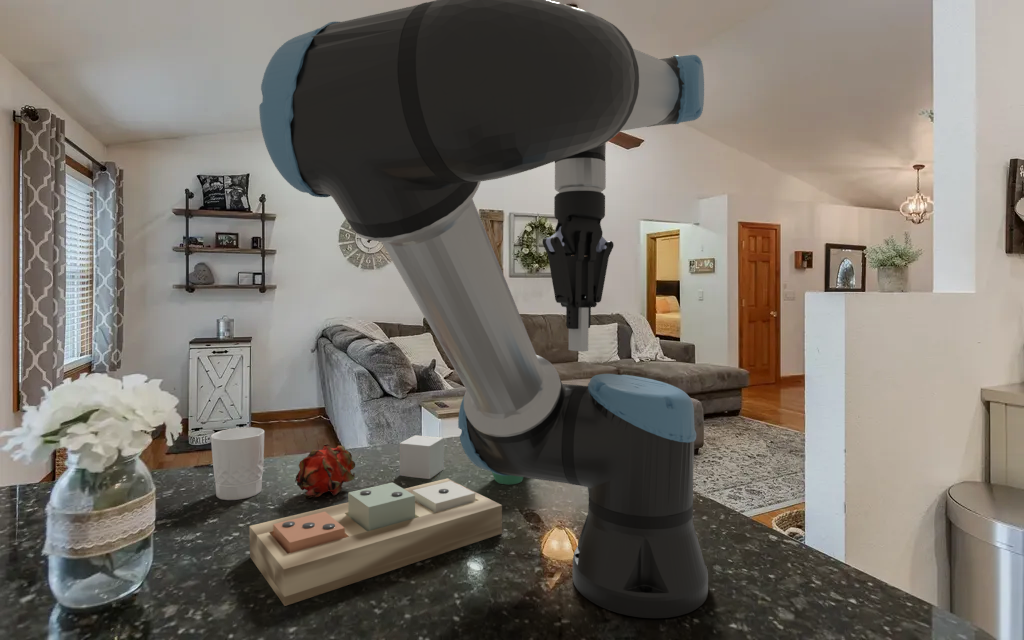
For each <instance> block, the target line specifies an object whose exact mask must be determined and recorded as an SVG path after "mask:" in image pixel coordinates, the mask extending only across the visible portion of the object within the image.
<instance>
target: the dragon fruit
mask: <svg viewBox="0 0 1024 640" xmlns="http://www.w3.org/2000/svg"><path fill="white" fill-rule="evenodd" d="M352 457H353V454H352V453H351V452H350V451H348V450H347V449H346V448H345V446H344V445H337V447H335V448H334V447H330V445H329V444H328V443H324V444H323V448H322V449H312V450H311V451H310V453H309V454H308V455H307V456H306V457H304V458H302V459H301V461H299V463H298V468H299V471H298V472H297V474H296V475H295V481H294V482H295V483H296V485H297V486H298V487H299V488H300V490H301V491H304V490H305V491H306V492H305V495H304V499H309V498H319V497H321V496H322V495H323V494H324V493H327V492H330V493H331V494H332V496H334V497H335V496H337V495H338V493H340V492H341V491H342V490H343V484H344V483H350V482H351V481H353V480H355V476H356V475H355V472H353V473H352V470H354V469H355V467H356V463H355V461H354V460H353V458H352Z"/></svg>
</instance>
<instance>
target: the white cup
mask: <svg viewBox="0 0 1024 640" xmlns="http://www.w3.org/2000/svg"><path fill="white" fill-rule="evenodd" d="M210 443H211V445H210V446H211V456H212V466H213V467H212V468H213V478H214V481H215V496H216V497H217V498H218V499H219V500H224V501H238V500H242V499H243V500H244V499H248V498H251V497H255V496H256V495H258V494H260V493H261V492H262V488H263V487H262V486H263V485H262V484H263V473H264V458H265V453H264V452H265V430H264V429H263V428H261V427H251V426H250V427H249V426H247V427H237V428H236V427H235V428H228V429H223V430H219V431H217V432H214V433H212V434H211V435H210Z"/></svg>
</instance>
